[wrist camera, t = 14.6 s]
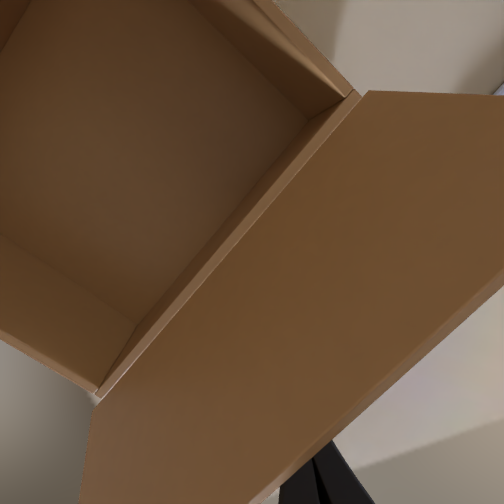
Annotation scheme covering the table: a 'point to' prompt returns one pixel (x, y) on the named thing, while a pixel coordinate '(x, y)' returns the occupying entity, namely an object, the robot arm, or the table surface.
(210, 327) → the flap
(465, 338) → the table surface
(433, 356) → the table surface
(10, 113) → the carton
